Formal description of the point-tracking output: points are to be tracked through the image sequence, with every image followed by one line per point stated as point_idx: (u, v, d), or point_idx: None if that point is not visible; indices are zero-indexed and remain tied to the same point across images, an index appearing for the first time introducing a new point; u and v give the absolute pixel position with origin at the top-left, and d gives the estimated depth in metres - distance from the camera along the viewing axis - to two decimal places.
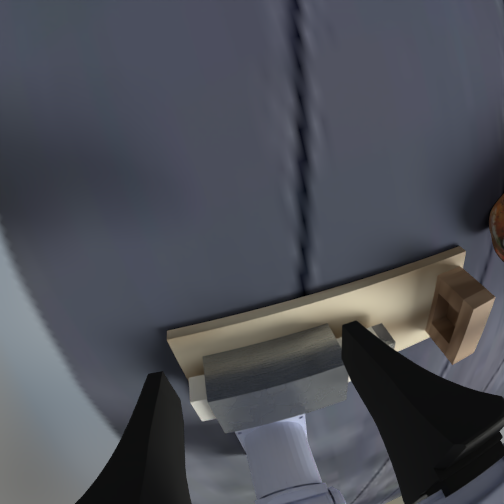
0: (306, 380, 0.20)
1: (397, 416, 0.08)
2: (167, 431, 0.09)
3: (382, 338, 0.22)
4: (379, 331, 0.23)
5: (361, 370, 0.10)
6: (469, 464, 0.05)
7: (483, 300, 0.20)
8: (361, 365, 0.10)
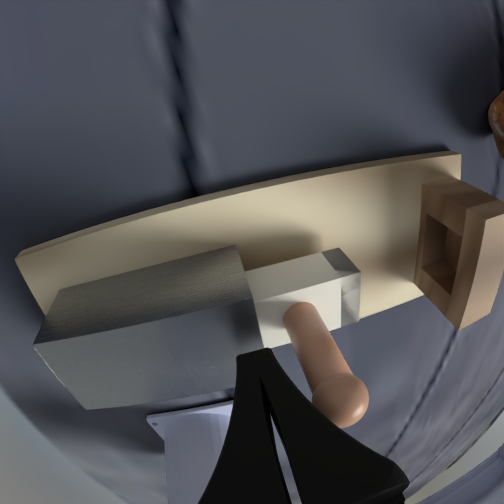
0: (172, 324, 0.11)
1: (288, 456, 0.08)
2: (267, 412, 0.09)
3: (337, 267, 0.14)
4: (334, 257, 0.15)
5: (267, 400, 0.10)
6: None
7: (499, 211, 0.12)
8: (266, 395, 0.10)
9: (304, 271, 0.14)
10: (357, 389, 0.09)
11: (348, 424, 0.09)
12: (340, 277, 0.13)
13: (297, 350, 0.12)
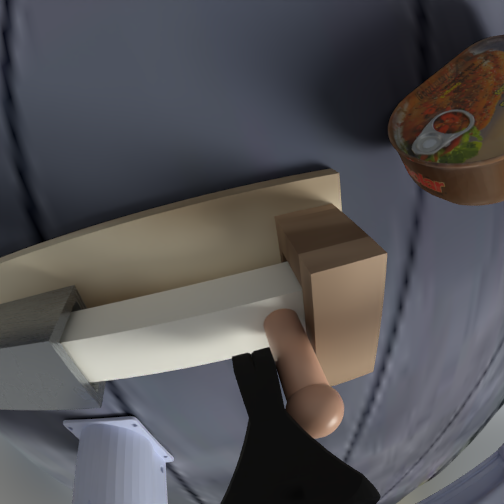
0: (7, 353, 0.11)
1: None
2: None
3: None
4: None
5: None
6: None
7: (350, 257, 0.11)
8: None
9: (286, 276, 0.14)
10: (330, 400, 0.09)
11: (321, 435, 0.09)
12: None
13: (274, 358, 0.12)
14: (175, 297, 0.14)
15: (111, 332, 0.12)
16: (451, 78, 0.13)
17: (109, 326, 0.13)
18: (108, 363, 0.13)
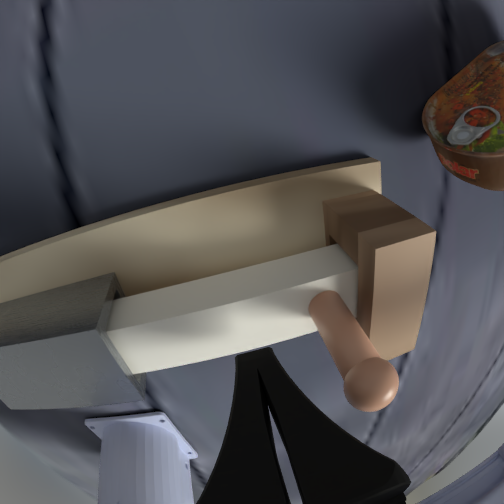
0: (42, 346, 0.11)
1: (289, 456, 0.08)
2: (266, 412, 0.09)
3: None
4: None
5: (268, 400, 0.10)
6: None
7: (405, 235, 0.11)
8: (266, 395, 0.10)
9: (328, 260, 0.14)
10: (389, 371, 0.09)
11: (380, 407, 0.09)
12: None
13: (326, 337, 0.12)
14: (218, 283, 0.14)
15: (153, 320, 0.13)
16: (473, 77, 0.13)
17: (150, 314, 0.13)
18: (146, 353, 0.13)
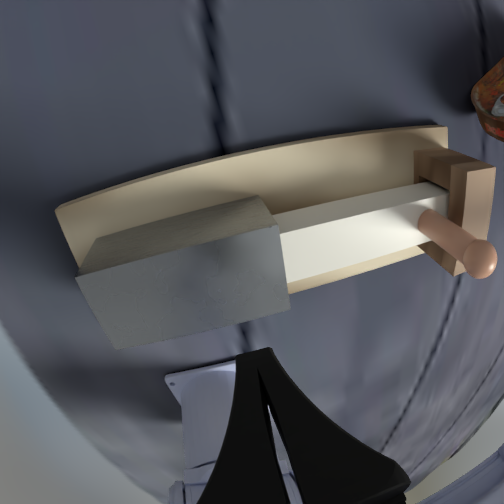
0: (210, 249, 0.14)
1: (289, 456, 0.08)
2: (266, 412, 0.09)
3: (445, 188, 0.17)
4: None
5: (268, 400, 0.10)
6: None
7: (479, 167, 0.14)
8: (267, 395, 0.10)
9: (425, 190, 0.17)
10: (491, 245, 0.12)
11: (491, 270, 0.12)
12: None
13: (440, 235, 0.15)
14: (353, 202, 0.17)
15: (315, 224, 0.16)
16: (501, 73, 0.16)
17: (309, 221, 0.16)
18: (300, 260, 0.16)
